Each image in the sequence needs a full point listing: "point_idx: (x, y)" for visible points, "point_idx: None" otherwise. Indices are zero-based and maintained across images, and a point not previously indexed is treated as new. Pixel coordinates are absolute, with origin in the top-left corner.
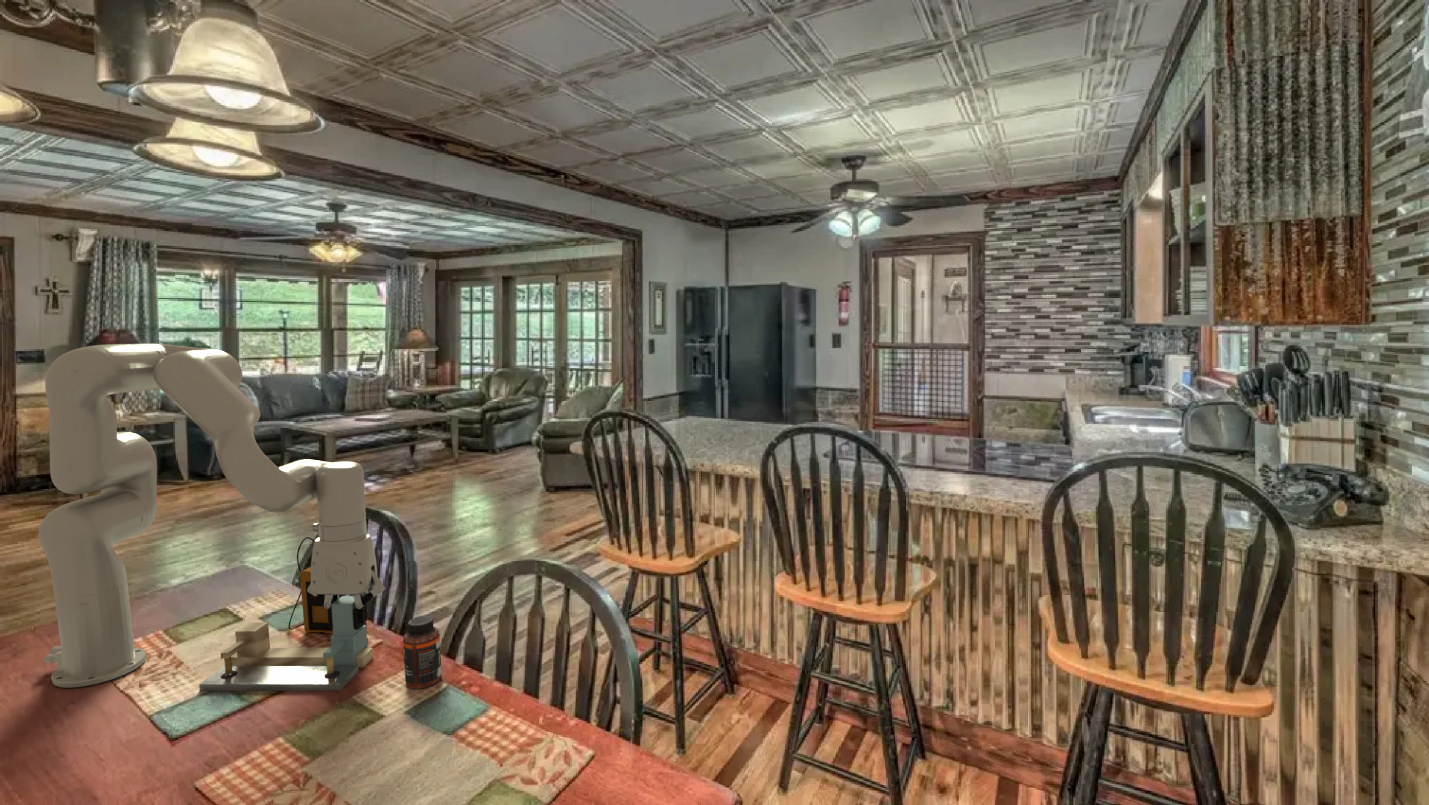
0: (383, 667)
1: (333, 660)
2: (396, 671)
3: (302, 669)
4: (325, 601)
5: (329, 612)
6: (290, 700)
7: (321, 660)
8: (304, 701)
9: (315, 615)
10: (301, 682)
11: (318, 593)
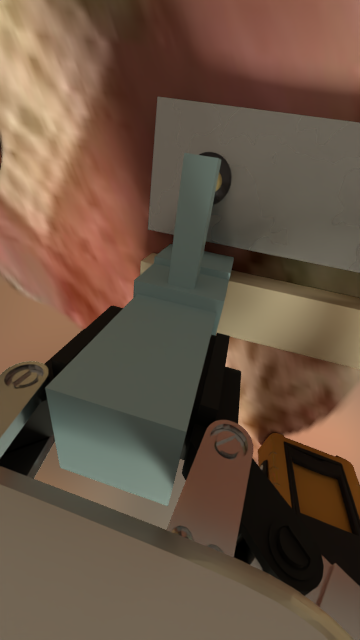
0: (102, 243)
1: (224, 262)
2: (60, 212)
3: (320, 240)
4: (237, 475)
5: (217, 392)
6: (329, 33)
7: (268, 286)
8: (270, 17)
9: (333, 498)
10: (305, 132)
11: (289, 603)
